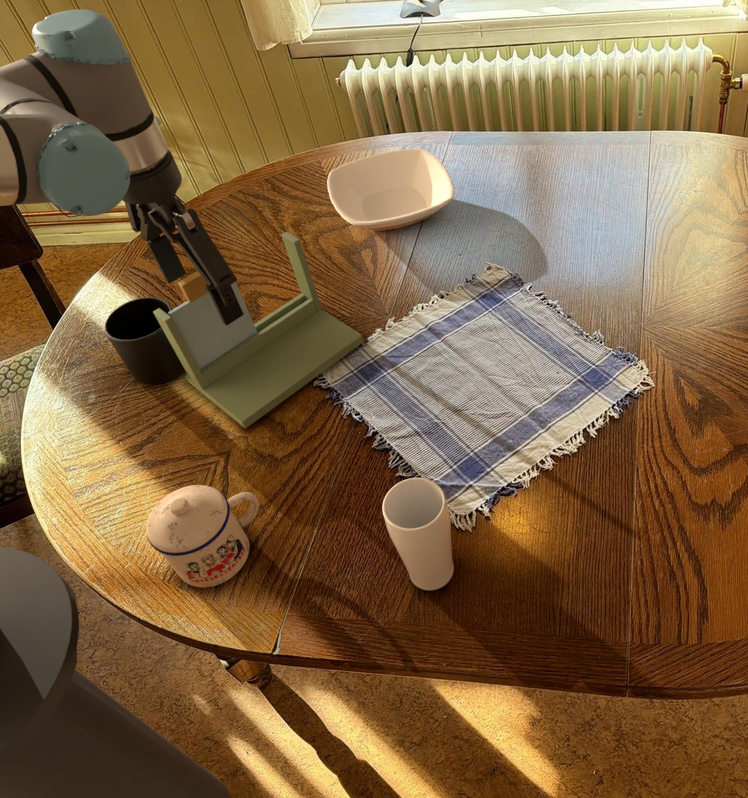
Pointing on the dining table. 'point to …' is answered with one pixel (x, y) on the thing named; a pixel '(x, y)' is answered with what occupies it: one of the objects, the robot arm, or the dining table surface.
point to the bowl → (390, 189)
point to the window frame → (270, 351)
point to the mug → (143, 340)
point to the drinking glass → (421, 531)
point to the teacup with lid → (201, 533)
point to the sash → (208, 323)
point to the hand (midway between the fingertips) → (204, 298)
